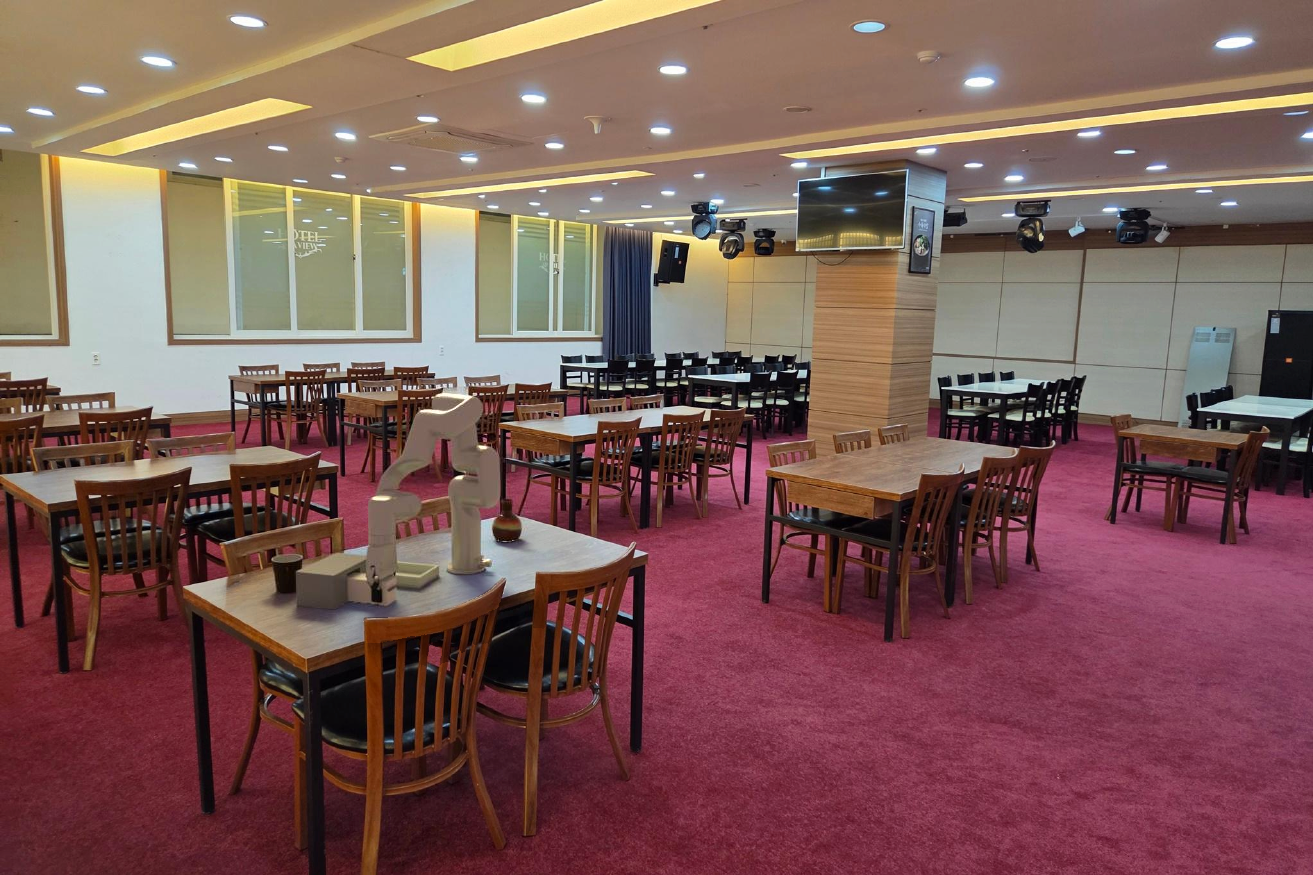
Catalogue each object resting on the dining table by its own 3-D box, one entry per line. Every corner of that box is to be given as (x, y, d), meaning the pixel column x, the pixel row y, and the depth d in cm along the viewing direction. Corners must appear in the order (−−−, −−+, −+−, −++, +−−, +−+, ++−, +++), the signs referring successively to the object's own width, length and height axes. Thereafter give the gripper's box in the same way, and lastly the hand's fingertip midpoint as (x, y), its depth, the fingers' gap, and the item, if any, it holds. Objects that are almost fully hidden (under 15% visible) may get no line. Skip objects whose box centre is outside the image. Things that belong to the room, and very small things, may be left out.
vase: (496, 535, 319) (497, 495, 317) (525, 536, 318) (525, 497, 316) (488, 542, 308) (488, 502, 306) (517, 544, 307) (517, 504, 305)
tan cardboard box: (398, 599, 245) (398, 577, 244) (389, 606, 240) (388, 582, 239) (353, 594, 248) (353, 572, 247) (343, 600, 243) (342, 577, 242)
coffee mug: (281, 584, 254) (280, 553, 253) (308, 586, 254) (307, 554, 253) (262, 597, 243) (260, 564, 241) (291, 598, 243) (290, 566, 241)
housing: (372, 587, 255) (371, 556, 253) (334, 609, 235) (333, 575, 234) (337, 583, 257) (336, 552, 256) (296, 605, 238) (295, 571, 236)
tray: (439, 576, 268) (439, 565, 267) (419, 588, 255) (419, 577, 255) (377, 569, 272) (377, 559, 272) (355, 581, 260) (355, 570, 259)
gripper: (386, 530, 249) (386, 588, 252) (353, 544, 233) (354, 606, 235) (409, 532, 248) (409, 590, 250) (377, 547, 231) (378, 609, 234)
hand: (382, 597), depth 243 cm, fingers closed on tan cardboard box, 5 cm apart
